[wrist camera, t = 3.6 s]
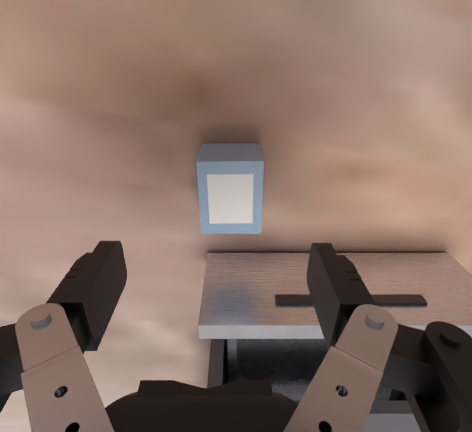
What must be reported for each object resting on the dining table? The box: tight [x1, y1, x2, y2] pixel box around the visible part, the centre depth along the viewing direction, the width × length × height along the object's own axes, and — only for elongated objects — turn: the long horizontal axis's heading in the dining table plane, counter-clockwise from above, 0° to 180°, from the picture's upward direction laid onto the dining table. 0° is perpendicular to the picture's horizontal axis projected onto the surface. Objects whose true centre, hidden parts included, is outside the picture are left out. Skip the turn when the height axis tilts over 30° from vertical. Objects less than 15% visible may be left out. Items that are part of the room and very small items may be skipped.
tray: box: [198, 253, 472, 401], centre depth 27 cm, size 18×20×8 cm
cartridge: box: [196, 143, 264, 234], centre depth 21 cm, size 4×5×4 cm
